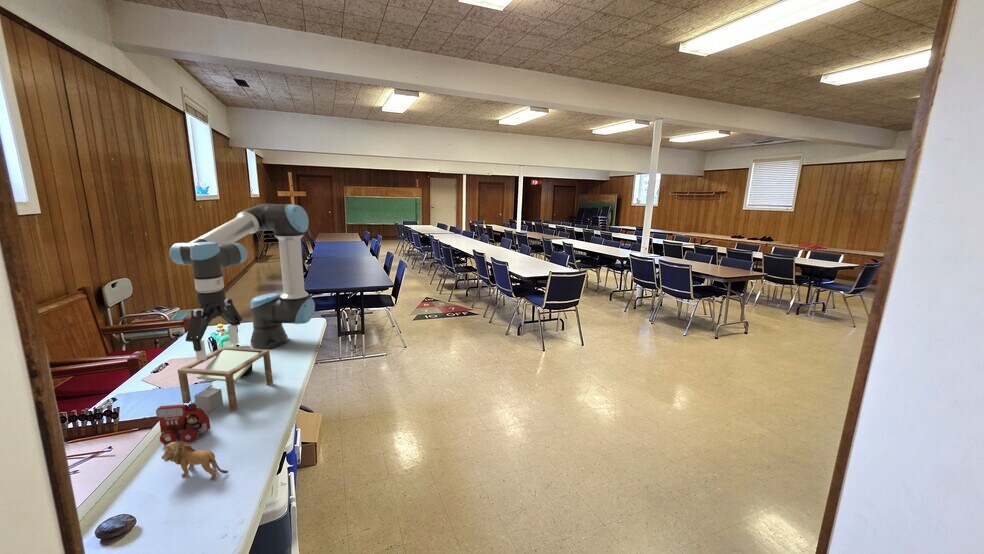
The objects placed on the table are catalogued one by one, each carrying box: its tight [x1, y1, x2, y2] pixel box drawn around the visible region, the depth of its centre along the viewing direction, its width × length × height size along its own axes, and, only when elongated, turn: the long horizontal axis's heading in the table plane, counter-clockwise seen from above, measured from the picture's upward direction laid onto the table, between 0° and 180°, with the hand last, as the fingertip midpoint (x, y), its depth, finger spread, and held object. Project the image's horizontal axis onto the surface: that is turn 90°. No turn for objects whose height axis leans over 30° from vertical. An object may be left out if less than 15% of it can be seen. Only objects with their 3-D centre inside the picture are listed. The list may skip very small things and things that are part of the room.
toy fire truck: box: [155, 402, 211, 445], centre depth 110 cm, size 7×12×10 cm, turn 102°
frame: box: [177, 346, 274, 413], centre depth 132 cm, size 19×18×14 cm
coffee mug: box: [236, 345, 254, 379], centre depth 149 cm, size 12×9×10 cm
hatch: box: [195, 350, 260, 383], centre depth 132 cm, size 13×14×1 cm
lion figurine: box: [160, 440, 229, 481], centre depth 96 cm, size 15×5×9 cm, turn 92°
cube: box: [194, 387, 224, 415], centre depth 124 cm, size 5×5×6 cm
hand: (218, 350), depth 127 cm, fingers open, 13 cm apart
